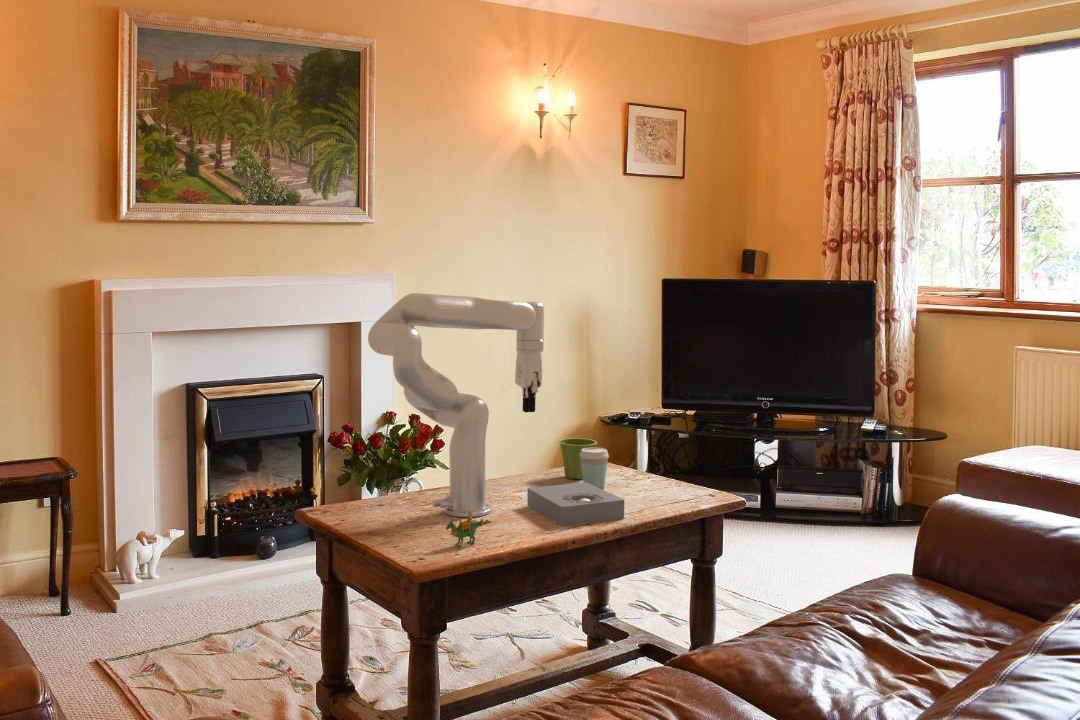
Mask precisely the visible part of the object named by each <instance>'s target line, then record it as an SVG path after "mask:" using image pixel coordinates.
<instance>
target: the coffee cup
mask: <svg viewBox="0 0 1080 720" xmlns="http://www.w3.org/2000/svg"><path fill="white" fill-rule="evenodd" d="M580 457H581V466H582V475H583V479H582V483H583V482H587V483H589V484H591V485H594V486H596V487H598V488H600V489H602V490H604V491H605V484H606V476H607V470H608V469H607V467H608V459H609V458H610V456H609V453H608V450H607V449H606V448H604V447H596V446H595V447H592V448H584V449H582V450H581V453H580Z"/></svg>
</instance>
